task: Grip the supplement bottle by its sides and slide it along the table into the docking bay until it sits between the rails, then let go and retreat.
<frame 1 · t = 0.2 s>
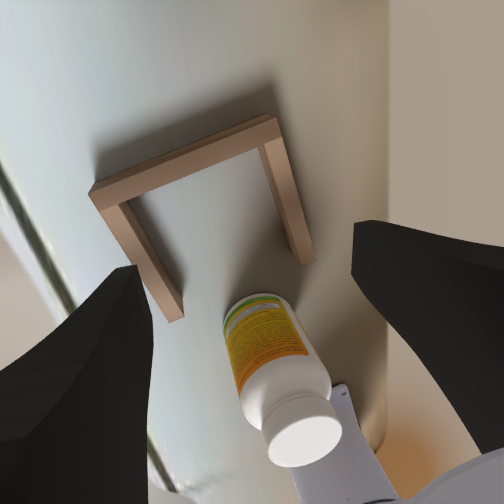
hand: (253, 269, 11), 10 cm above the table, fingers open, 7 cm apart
supplement bottle: (256, 319, 25), on the table
bay: (215, 225, 21), on the table
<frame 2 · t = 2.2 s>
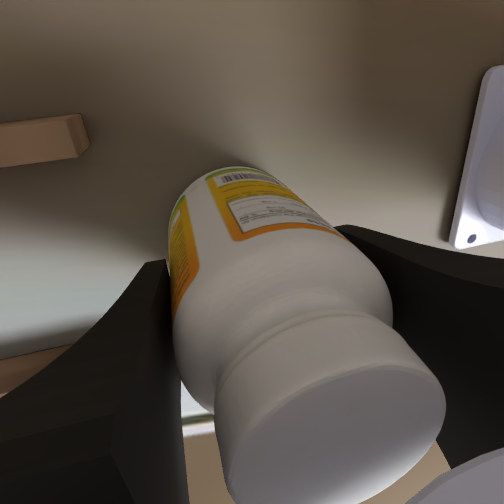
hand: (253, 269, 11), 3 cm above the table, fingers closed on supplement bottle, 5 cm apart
supplement bottle: (233, 227, 14), on the table, touching gripper
bay: (12, 269, 13), on the table
when the fingers open (3 cm above the table, at t = 3.4 s): supplement bottle stays where it is, on the table.
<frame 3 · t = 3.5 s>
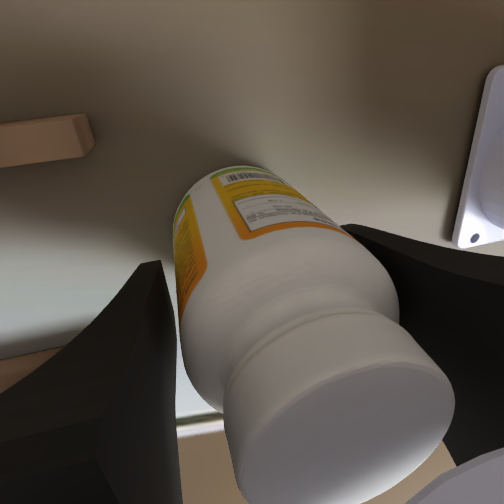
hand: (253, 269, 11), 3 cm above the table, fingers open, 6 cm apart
supplement bottle: (237, 226, 14), on the table, touching gripper
bay: (17, 268, 13), on the table
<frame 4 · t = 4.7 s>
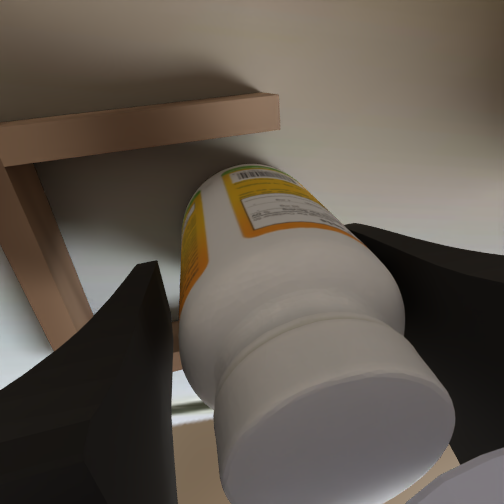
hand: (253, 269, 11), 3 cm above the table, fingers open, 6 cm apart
supplement bottle: (247, 225, 14), on the table, touching gripper
bay: (175, 239, 14), on the table
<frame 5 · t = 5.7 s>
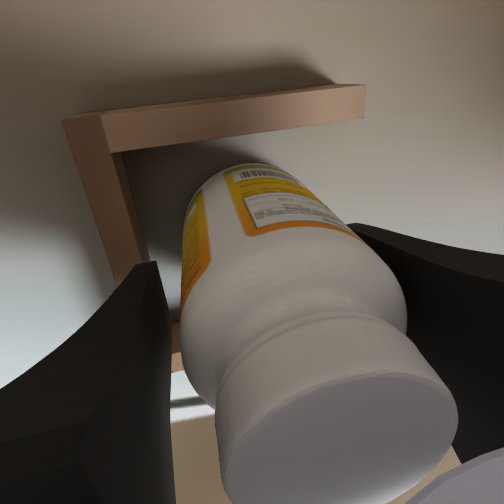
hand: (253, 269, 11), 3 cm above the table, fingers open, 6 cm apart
supplement bottle: (249, 224, 14), on the table, touching gripper
bay: (244, 227, 14), on the table
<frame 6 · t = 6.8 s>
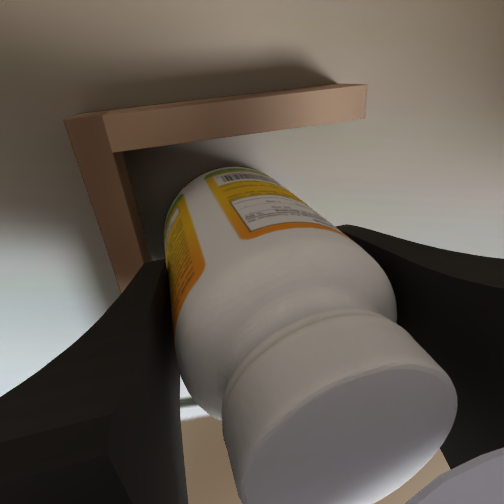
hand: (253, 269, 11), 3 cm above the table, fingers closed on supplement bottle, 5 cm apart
supplement bottle: (229, 228, 14), on the table, touching gripper
bay: (245, 227, 14), on the table
when the fingers open (3 cm above the table, at t = 6.9 s): supplement bottle stays where it is, on the table.
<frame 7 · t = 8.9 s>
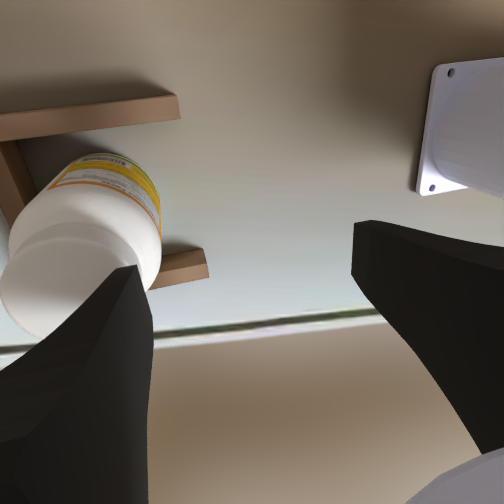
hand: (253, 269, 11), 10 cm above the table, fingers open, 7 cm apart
supplement bottle: (110, 199, 19), on the table
bay: (121, 199, 19), on the table
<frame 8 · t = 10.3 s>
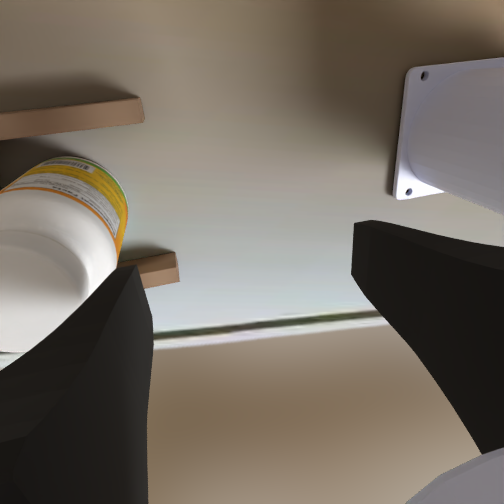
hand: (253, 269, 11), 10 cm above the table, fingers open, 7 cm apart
supplement bottle: (78, 202, 19), on the table
bay: (89, 203, 19), on the table
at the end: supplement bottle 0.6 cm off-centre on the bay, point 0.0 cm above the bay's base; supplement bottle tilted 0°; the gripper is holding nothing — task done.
